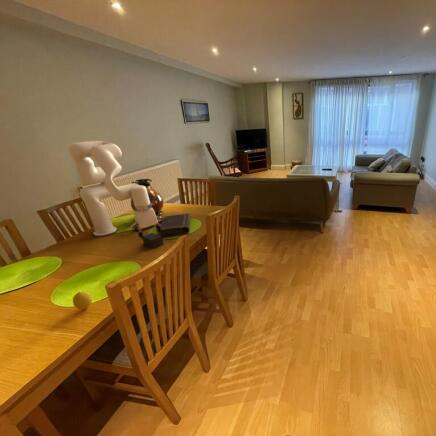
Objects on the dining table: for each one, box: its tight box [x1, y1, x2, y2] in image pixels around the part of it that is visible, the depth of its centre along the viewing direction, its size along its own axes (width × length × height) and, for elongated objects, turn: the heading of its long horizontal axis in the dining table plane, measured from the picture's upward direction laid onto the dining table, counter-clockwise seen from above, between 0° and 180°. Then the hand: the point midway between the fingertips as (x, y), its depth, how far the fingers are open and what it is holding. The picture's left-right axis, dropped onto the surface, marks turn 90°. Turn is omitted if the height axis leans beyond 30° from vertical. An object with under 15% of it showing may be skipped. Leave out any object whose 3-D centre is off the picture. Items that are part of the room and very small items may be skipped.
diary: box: [159, 213, 191, 238], centre depth 164 cm, size 19×25×5 cm
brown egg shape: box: [72, 290, 93, 310], centre depth 93 cm, size 6×6×8 cm
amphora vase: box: [130, 178, 165, 217], centre depth 181 cm, size 22×22×28 cm
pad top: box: [135, 225, 155, 232], centre depth 165 cm, size 10×6×3 cm, turn 148°
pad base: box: [142, 239, 164, 249], centre depth 143 cm, size 10×6×3 cm, turn 58°
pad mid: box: [142, 232, 163, 244], centre depth 142 cm, size 10×6×3 cm, turn 58°
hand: (150, 234), depth 141 cm, fingers open, 9 cm apart
